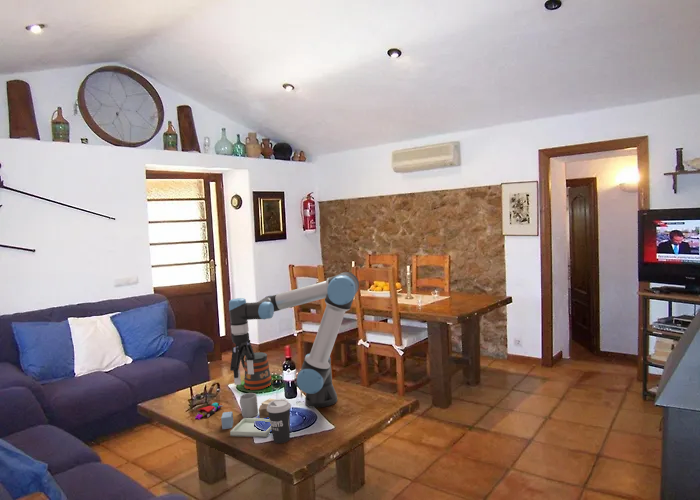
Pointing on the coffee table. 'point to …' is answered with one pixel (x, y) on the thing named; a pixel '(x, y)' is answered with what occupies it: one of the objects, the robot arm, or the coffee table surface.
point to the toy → (208, 410)
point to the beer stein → (257, 372)
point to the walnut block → (263, 411)
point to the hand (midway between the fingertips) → (244, 379)
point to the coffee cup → (279, 420)
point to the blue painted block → (227, 420)
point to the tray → (249, 428)
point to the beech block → (267, 401)
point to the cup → (249, 405)
